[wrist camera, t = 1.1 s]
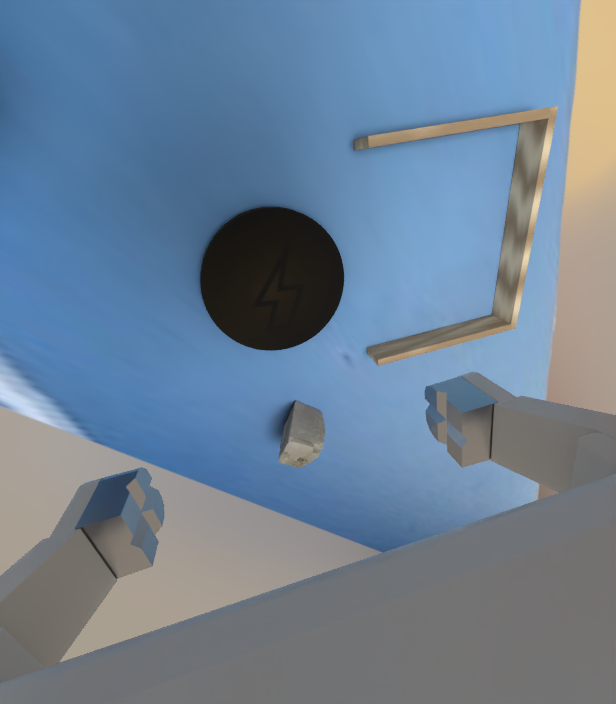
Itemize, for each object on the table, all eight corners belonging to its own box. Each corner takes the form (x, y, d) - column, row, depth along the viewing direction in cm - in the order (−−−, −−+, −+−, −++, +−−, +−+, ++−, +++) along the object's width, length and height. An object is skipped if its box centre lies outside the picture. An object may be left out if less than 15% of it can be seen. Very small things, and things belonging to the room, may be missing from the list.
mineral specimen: (276, 397, 49) (298, 432, 43) (320, 403, 54) (345, 435, 48) (257, 435, 51) (276, 474, 45) (301, 438, 56) (324, 473, 50)
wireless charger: (322, 187, 38) (328, 188, 37) (349, 320, 48) (354, 325, 46) (175, 232, 37) (173, 235, 35) (232, 361, 46) (232, 368, 44)
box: (353, 140, 37) (368, 135, 33) (528, 112, 40) (558, 106, 37) (367, 353, 50) (378, 365, 47) (496, 319, 54) (515, 328, 51)
